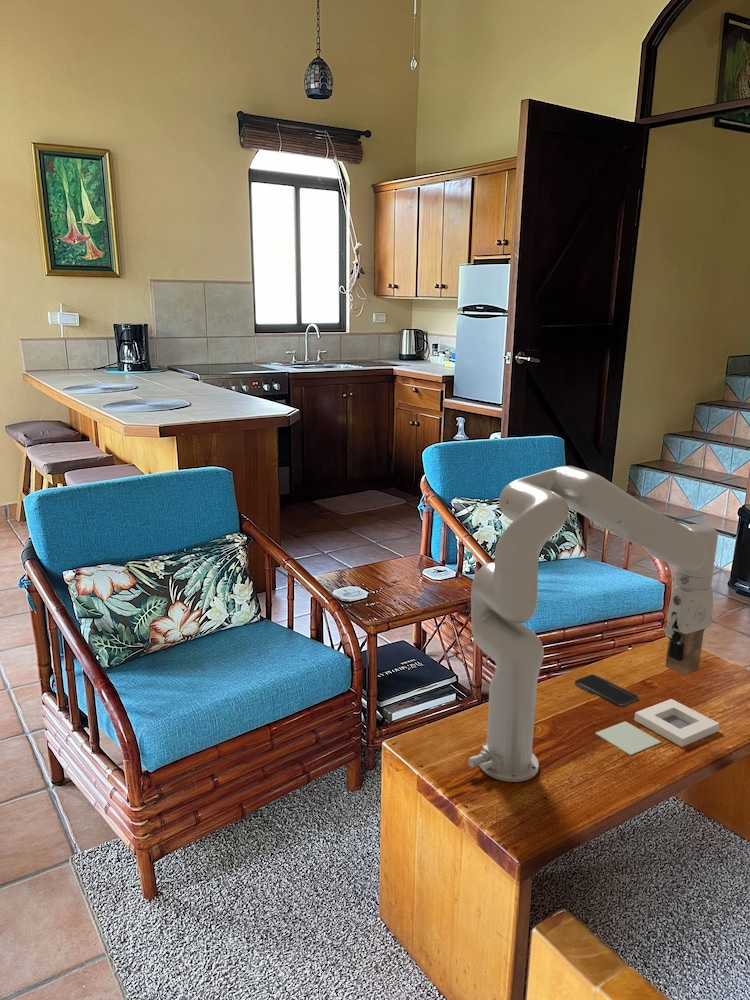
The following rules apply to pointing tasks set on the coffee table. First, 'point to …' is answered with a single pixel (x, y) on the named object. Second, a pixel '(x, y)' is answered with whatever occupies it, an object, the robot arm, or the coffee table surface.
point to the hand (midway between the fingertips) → (683, 655)
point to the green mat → (628, 738)
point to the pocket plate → (676, 722)
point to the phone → (606, 690)
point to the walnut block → (687, 654)
